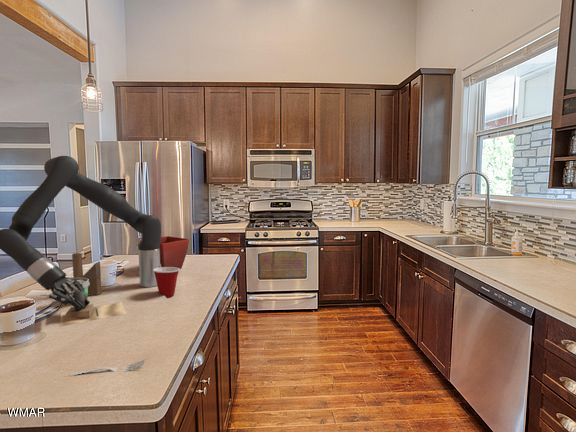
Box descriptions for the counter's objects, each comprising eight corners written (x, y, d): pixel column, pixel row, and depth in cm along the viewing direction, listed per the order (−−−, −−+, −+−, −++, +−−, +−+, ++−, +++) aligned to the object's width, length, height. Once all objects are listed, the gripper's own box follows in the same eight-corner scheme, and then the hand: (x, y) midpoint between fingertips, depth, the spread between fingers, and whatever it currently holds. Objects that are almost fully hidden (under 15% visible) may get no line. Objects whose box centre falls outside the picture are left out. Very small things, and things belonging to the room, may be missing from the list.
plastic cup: (186, 293, 149) (185, 266, 148) (167, 301, 139) (166, 272, 138) (167, 290, 154) (166, 264, 152) (148, 297, 144) (147, 269, 143)
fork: (44, 376, 86) (44, 369, 86) (146, 364, 92) (146, 358, 92) (38, 383, 83) (37, 376, 83) (144, 370, 89) (144, 364, 89)
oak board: (122, 305, 134) (122, 302, 134) (127, 317, 123) (126, 313, 122) (61, 316, 124) (61, 312, 124) (60, 330, 112) (60, 326, 112)
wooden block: (97, 295, 147) (95, 254, 145) (72, 295, 147) (69, 254, 145) (102, 292, 151) (99, 252, 149) (77, 292, 150) (74, 252, 148)
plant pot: (190, 267, 194) (190, 238, 193) (162, 275, 178) (161, 243, 176) (168, 263, 204) (167, 235, 203) (140, 270, 188) (138, 240, 187)
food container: (98, 302, 138) (96, 278, 137) (84, 308, 132) (83, 282, 131) (75, 299, 142) (74, 275, 141) (61, 304, 136) (59, 279, 135)
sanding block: (93, 310, 125) (92, 288, 124) (89, 317, 118) (87, 293, 117) (71, 313, 123) (69, 290, 122) (66, 320, 116) (64, 296, 115)
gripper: (40, 271, 111) (80, 306, 113) (66, 261, 125) (102, 292, 127) (24, 287, 112) (65, 322, 113) (52, 275, 126) (88, 306, 127)
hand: (84, 306), depth 120 cm, fingers closed on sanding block, 3 cm apart
